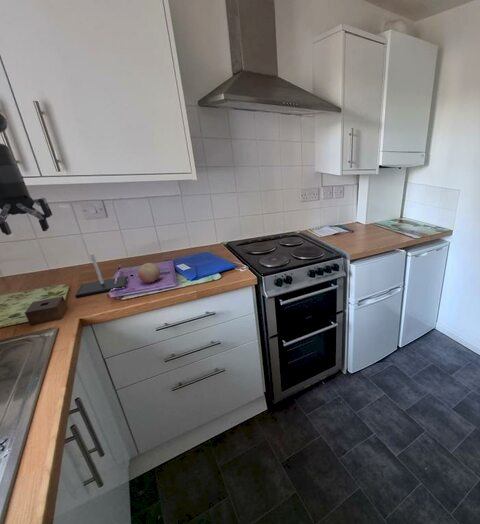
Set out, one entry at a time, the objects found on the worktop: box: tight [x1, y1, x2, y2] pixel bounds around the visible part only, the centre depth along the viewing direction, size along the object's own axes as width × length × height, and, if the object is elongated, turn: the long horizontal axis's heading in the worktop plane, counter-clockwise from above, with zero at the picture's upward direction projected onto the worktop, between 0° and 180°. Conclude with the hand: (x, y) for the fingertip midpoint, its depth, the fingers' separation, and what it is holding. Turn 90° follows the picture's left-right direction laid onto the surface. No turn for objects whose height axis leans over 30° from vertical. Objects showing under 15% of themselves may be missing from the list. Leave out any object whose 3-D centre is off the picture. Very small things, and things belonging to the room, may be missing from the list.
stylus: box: [89, 252, 104, 286], centre depth 121 cm, size 1×1×14 cm
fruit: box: [137, 262, 161, 284], centre depth 128 cm, size 8×8×8 cm
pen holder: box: [24, 295, 69, 326], centre depth 104 cm, size 8×8×5 cm
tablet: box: [75, 275, 129, 299], centre depth 124 cm, size 16×11×1 cm
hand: (27, 232), depth 96 cm, fingers open, 8 cm apart
